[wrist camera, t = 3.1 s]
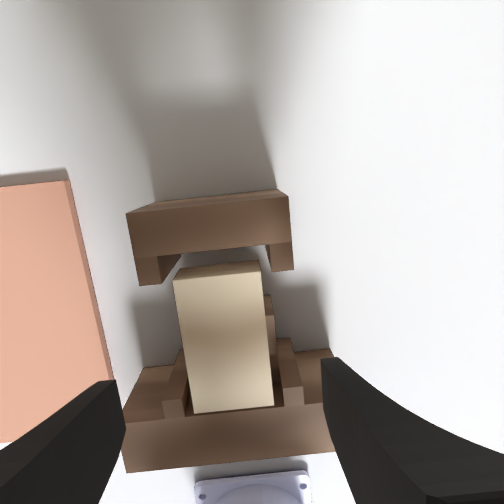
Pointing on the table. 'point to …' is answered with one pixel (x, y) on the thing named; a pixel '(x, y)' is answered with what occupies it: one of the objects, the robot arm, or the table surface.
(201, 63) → the table surface
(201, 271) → the slab
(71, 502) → the robot arm
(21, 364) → the mat
